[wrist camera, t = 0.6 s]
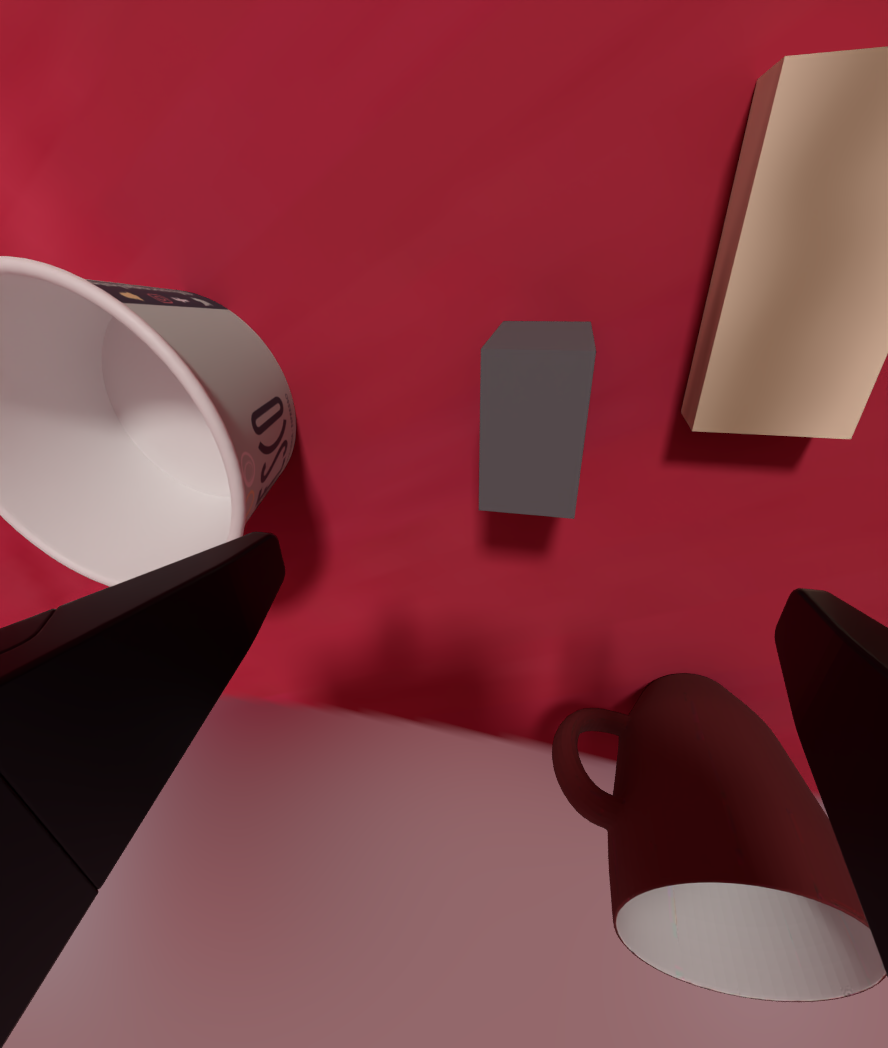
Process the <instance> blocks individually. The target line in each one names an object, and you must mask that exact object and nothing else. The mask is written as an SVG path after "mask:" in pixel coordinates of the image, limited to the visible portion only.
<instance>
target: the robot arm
mask: <svg viewBox="0 0 888 1048" xmlns="http://www.w3.org/2000/svg"><path fill="white" fill-rule="evenodd" d="M284 576H285V566H284V562H283V558H282V554H281V549H280V545H279V541H278V539H277V537H276V536H275V535H274V534H272V533H263V532H252V533H249V534H247V535H244V536H242V537H239V538H236V539H234V540H231V541H229V542H226V543H223V544H221V545H218V546H215V547H213V548H210V549H208V550H205V551H202V552H200V553H197V554H195V555H192V556H189V557H187V558H184V559H182V560H179V561H176V562H174V563H171V564H169V565H166V566H163V567H161V568H158V569H155V570H153V571H150V572H148V573H145V574H142V575H140V576H137V577H135V578H132V579H129V580H127V581H124V582H122V583H119V584H116V585H114V586H111V587H109V588H106V589H103V590H101V591H98V592H95V593H93V594H90V595H88V596H85V597H82V598H80V599H77V600H75V601H72V602H69V603H67V604H64V605H62V606H59V607H58V608H57V609H51V610H48V611H46V612H43V613H40V614H38V615H35V616H33V617H30V618H27V619H25V620H22V621H19V622H17V623H14V624H11V625H9V626H6V627H3V628H0V1048H2V1047H3V1044H4V1043H5V1042H6V1040H7V1039H8V1037H9V1035H10V1034H11V1032H12V1031H13V1029H14V1027H15V1026H16V1024H17V1023H18V1021H19V1019H20V1018H21V1016H22V1014H23V1013H24V1011H25V1010H26V1008H27V1006H28V1005H29V1003H30V1002H31V1000H32V998H33V997H34V995H35V993H36V992H37V990H38V989H39V987H40V986H41V984H42V982H43V981H44V979H45V977H46V976H47V974H48V973H49V971H50V969H51V968H52V966H53V965H54V963H55V961H56V960H57V958H58V957H59V955H60V953H61V952H62V950H63V949H64V947H65V945H66V944H67V942H68V940H69V939H70V937H71V936H72V934H73V932H74V931H75V929H76V928H77V926H78V924H79V923H80V921H81V920H82V918H83V916H84V915H85V913H86V911H87V910H88V908H89V907H90V905H91V903H92V902H93V900H94V899H95V897H96V895H97V894H98V889H100V888H101V886H102V885H103V884H104V882H105V880H106V879H107V877H108V875H109V874H110V872H111V871H112V869H113V867H114V866H115V864H116V863H117V861H118V859H119V858H120V856H121V855H122V853H123V851H124V850H125V848H126V847H127V845H128V843H129V842H130V840H131V839H132V837H133V835H134V834H135V832H136V831H137V829H138V827H139V826H140V824H141V822H142V821H143V819H144V818H145V816H146V814H147V813H148V811H149V810H150V808H151V806H152V805H153V803H154V801H155V800H156V798H157V797H158V795H159V793H160V792H161V790H162V789H163V787H164V785H165V784H166V782H167V781H168V779H169V777H170V776H171V774H172V773H173V771H174V769H175V768H176V766H177V765H178V763H179V761H180V760H181V758H182V757H183V755H184V753H185V752H186V750H187V748H188V747H189V745H190V744H191V742H192V740H193V739H194V737H195V735H196V734H197V732H198V731H199V729H200V727H201V726H202V724H203V723H204V721H205V719H206V718H207V716H208V715H209V713H210V711H211V710H212V708H213V706H214V705H215V703H216V702H217V700H218V699H219V697H220V695H221V694H222V692H223V691H224V689H225V687H226V686H227V684H228V683H229V681H230V679H231V678H232V676H233V675H234V673H235V671H236V670H237V668H238V666H239V665H240V663H241V662H242V660H243V658H244V657H245V655H246V654H247V652H248V650H249V648H250V647H251V645H252V643H253V641H254V639H255V637H256V636H257V634H258V632H259V630H260V628H261V626H262V623H263V621H264V619H265V617H266V615H267V613H268V611H269V609H270V607H271V605H272V603H273V601H274V599H275V597H276V595H277V593H278V590H279V588H280V586H281V584H282V582H283V580H284ZM775 643H776V648H777V652H778V656H779V660H780V665H781V669H782V673H783V677H784V681H785V686H786V690H787V694H788V698H789V702H790V707H791V711H792V715H793V719H794V722H795V726H796V730H797V733H798V736H799V739H800V741H801V744H802V747H803V750H804V753H805V755H806V758H807V761H808V763H809V766H810V769H811V771H812V774H813V777H814V780H815V782H816V785H817V788H818V790H819V793H820V796H821V798H822V801H823V804H824V807H825V809H826V812H827V814H828V817H829V820H830V823H831V825H832V828H833V831H834V834H835V836H836V839H837V842H838V844H839V847H840V850H841V852H842V855H843V858H844V861H845V863H846V866H847V869H848V871H849V874H850V877H851V879H852V882H853V885H854V888H855V890H856V893H857V896H858V898H859V901H860V904H861V906H862V909H863V912H864V915H865V917H866V920H867V923H868V925H869V928H870V931H871V933H872V936H873V939H874V942H875V944H876V947H877V950H878V952H879V955H880V958H881V960H882V963H883V966H884V969H885V971H886V974H887V976H888V628H887V627H885V626H884V625H882V624H880V623H879V622H877V621H876V620H874V619H872V618H871V617H869V616H867V615H866V614H864V613H862V612H861V611H859V610H857V609H856V608H854V607H852V606H851V605H849V604H847V603H846V602H844V601H842V600H841V599H839V598H837V597H836V596H834V595H832V594H831V593H829V592H826V591H823V590H813V589H803V588H798V589H796V590H793V591H792V593H791V594H790V596H789V598H788V600H787V602H786V605H785V607H784V609H783V612H782V614H781V616H780V619H779V621H778V623H777V626H776V629H775Z"/></svg>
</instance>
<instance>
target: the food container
mask: <svg viewBox="0 0 888 1048" xmlns="http://www.w3.org/2000/svg"><path fill="white" fill-rule="evenodd" d="M295 438H296V415H295V408H294V403H293V399H292V395H291V392H290V389H289V386H288V383H287V381H286V379H285V376H284V374H283V372H282V370H281V368H280V366H279V364H278V363H277V361H276V359H275V358H274V356H273V354H272V353H271V351H270V350H269V349H268V347H267V346H266V345H265V343H264V342H263V341H262V340H261V338H260V337H259V336H258V335H257V334H256V333H255V332H254V331H253V330H252V329H251V328H250V327H249V326H248V325H247V324H246V323H245V322H244V321H243V320H242V319H240V318H239V317H238V316H237V315H235V314H234V313H233V312H231V311H230V310H228V309H227V308H225V307H224V306H222V305H220V304H218V303H217V302H215V301H213V300H210V299H208V298H206V297H203V296H201V295H198V294H194V293H190V292H186V291H180V290H172V289H164V288H155V287H147V286H138V285H129V284H121V283H112V282H104V281H95V280H87V279H83V278H81V277H79V276H76V275H74V274H72V273H70V272H68V271H66V270H63V269H60V268H57V267H55V266H52V265H49V264H46V263H42V262H38V261H34V260H30V259H26V258H18V257H10V256H0V515H1V516H2V517H3V518H4V519H5V520H6V521H7V522H8V523H9V524H10V525H11V526H12V527H14V528H15V529H16V530H17V531H18V532H19V533H20V534H22V535H23V536H24V537H25V538H26V539H28V540H29V541H30V542H31V543H33V544H34V545H35V546H37V547H38V548H39V549H41V550H42V551H43V552H45V553H46V554H48V555H49V556H51V557H52V558H54V559H55V560H57V561H58V562H60V563H62V564H63V565H65V566H67V567H68V568H70V569H72V570H74V571H76V572H78V573H79V574H81V575H83V576H86V577H88V578H90V579H92V580H94V581H97V582H99V583H102V584H104V585H107V586H110V587H111V586H114V585H116V584H119V583H122V582H124V581H127V580H129V579H132V578H135V577H137V576H140V575H142V574H145V573H148V572H150V571H153V570H155V569H158V568H161V567H163V566H166V565H169V564H171V563H174V562H176V561H179V560H182V559H184V558H187V557H189V556H192V555H195V554H197V553H200V552H202V551H205V550H208V549H210V548H213V547H215V546H218V545H221V544H223V543H226V542H229V541H231V540H234V539H236V538H239V537H242V536H243V533H244V527H245V524H246V523H247V521H248V520H249V518H250V517H251V515H252V514H253V513H254V511H255V510H256V508H257V507H258V506H259V504H260V503H261V501H262V500H263V498H264V497H265V496H266V494H267V493H268V491H269V490H270V489H271V487H272V486H273V484H274V483H275V481H276V480H277V479H278V477H279V476H280V474H281V473H282V471H283V470H284V469H285V467H286V465H287V463H288V462H289V460H290V457H291V455H292V452H293V448H294V444H295Z"/></svg>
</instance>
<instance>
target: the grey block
mask: <svg viewBox="0 0 888 1048" xmlns="http://www.w3.org/2000/svg"><path fill="white" fill-rule="evenodd" d="M595 355H596V349H595V343H594V337H593V332H592V326H591V322H548V321H503V322H502V324H501V325H500V326H499V327H498V329H497V330H496V331H495V332H494V333H493V335H492V336H491V337H490V338H489V340H488V341H487V342H486V343H485V345H484V346H483V347H482V348H481V384H480V460H479V510H483V511H494V512H505V513H516V514H527V515H539V516H550V517H561V518H572V519H574V516H575V509H576V501H577V493H578V486H579V478H580V470H581V462H582V455H583V447H584V439H585V432H586V424H587V416H588V409H589V401H590V393H591V386H592V378H593V370H594V362H595Z"/></svg>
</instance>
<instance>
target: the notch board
mask: <svg viewBox="0 0 888 1048" xmlns="http://www.w3.org/2000/svg"><path fill="white" fill-rule="evenodd" d="M887 353H888V47H878V48H867V49H857V50H846V51H836V52H825V53H815V54H804V55H794V56H785V57H784V58H782V59H781V60H780V61H779V62H778V63H776V64H775V65H774V66H773V67H772V68H770V69H769V70H768V71H767V72H766V73H765V74H763V75H762V76H761V77H760V78H759V79H757V83H756V88H755V92H754V96H753V101H752V105H751V109H750V114H749V118H748V122H747V127H746V131H745V135H744V140H743V144H742V148H741V153H740V157H739V161H738V166H737V170H736V174H735V179H734V183H733V187H732V192H731V196H730V200H729V205H728V209H727V213H726V218H725V222H724V226H723V231H722V235H721V239H720V244H719V248H718V252H717V257H716V261H715V265H714V270H713V274H712V278H711V283H710V287H709V292H708V296H707V300H706V305H705V309H704V313H703V318H702V322H701V326H700V331H699V335H698V339H697V344H696V348H695V352H694V357H693V361H692V365H691V370H690V374H689V378H688V383H687V387H686V391H685V396H684V400H683V404H682V409H681V414H682V415H683V417H684V419H685V420H686V422H687V424H688V425H689V427H690V429H691V430H692V431H698V432H718V433H738V434H758V435H778V436H798V437H817V438H837V439H851V438H852V435H853V433H854V431H855V428H856V426H857V424H858V421H859V419H860V417H861V414H862V412H863V410H864V407H865V405H866V403H867V400H868V398H869V396H870V393H871V391H872V389H873V386H874V384H875V382H876V379H877V377H878V375H879V372H880V370H881V368H882V365H883V363H884V360H885V358H886V356H887Z"/></svg>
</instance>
